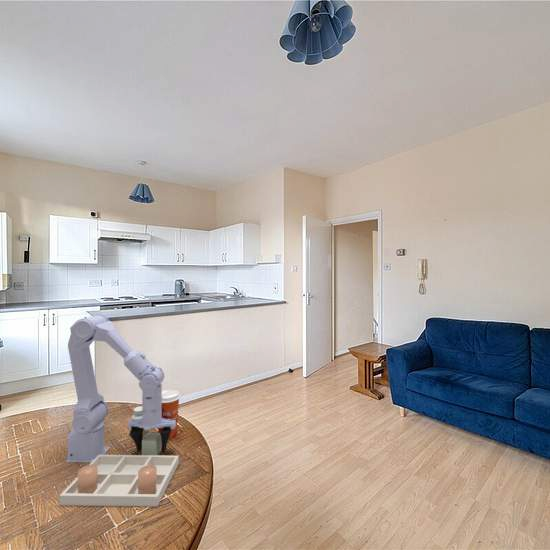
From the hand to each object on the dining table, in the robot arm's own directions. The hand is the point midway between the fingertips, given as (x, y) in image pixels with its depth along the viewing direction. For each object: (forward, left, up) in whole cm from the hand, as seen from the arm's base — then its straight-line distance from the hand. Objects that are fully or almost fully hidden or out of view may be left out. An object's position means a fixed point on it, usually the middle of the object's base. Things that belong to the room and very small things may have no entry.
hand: (151, 450), depth 95 cm
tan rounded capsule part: (+6, -17, -1) cm, 18 cm away
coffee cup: (+1, +11, -2) cm, 12 cm away
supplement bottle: (-9, +11, -2) cm, 15 cm away
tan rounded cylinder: (-10, -17, -1) cm, 20 cm away
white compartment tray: (-2, -13, -2) cm, 13 cm away
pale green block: (0, 0, -2) cm, 2 cm away
